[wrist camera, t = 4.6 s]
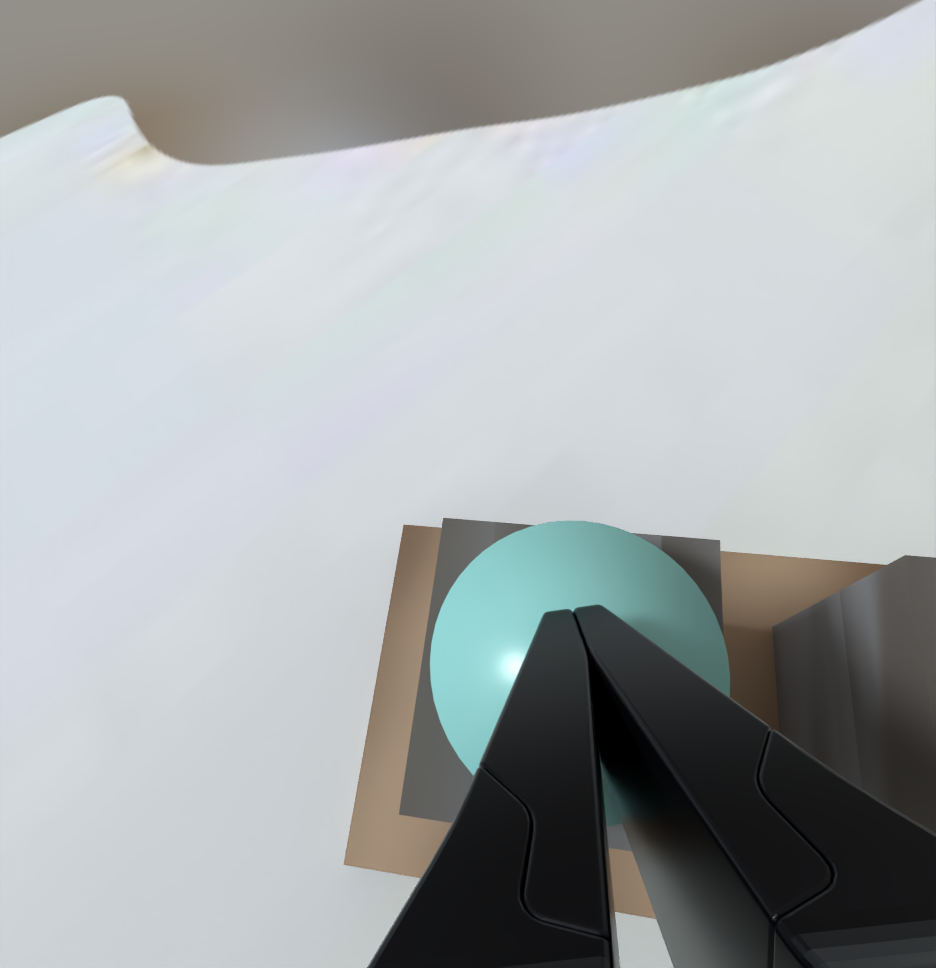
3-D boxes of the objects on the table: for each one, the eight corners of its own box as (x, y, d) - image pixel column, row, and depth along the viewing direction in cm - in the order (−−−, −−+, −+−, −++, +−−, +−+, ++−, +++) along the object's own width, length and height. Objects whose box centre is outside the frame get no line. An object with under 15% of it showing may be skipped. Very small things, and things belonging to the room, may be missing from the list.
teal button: (677, 588, 13) (724, 532, 10) (679, 822, 11) (737, 851, 8) (472, 569, 14) (450, 510, 10) (444, 787, 12) (408, 801, 9)
